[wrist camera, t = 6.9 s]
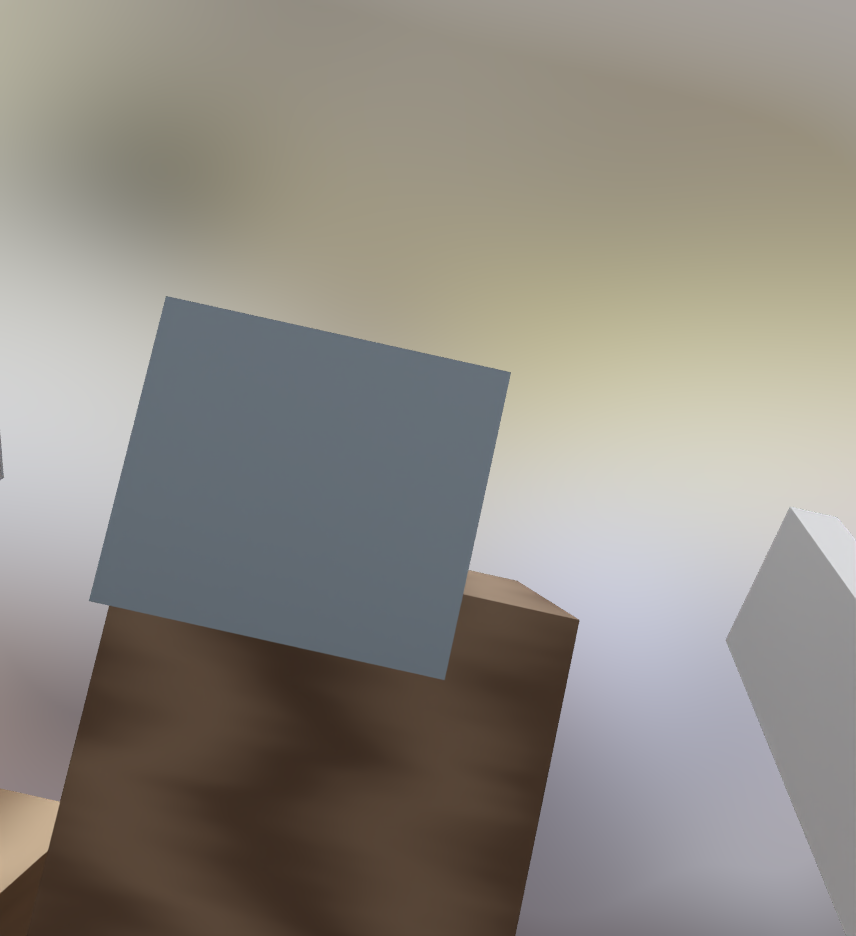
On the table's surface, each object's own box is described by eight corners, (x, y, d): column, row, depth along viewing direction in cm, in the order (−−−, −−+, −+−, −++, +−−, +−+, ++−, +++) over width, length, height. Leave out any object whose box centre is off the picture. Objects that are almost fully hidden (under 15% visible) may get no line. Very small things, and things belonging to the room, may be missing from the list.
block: (88, 600, 8) (165, 295, 8) (345, 537, 36) (361, 468, 36) (444, 680, 8) (511, 372, 8) (424, 554, 36) (439, 485, 36)
